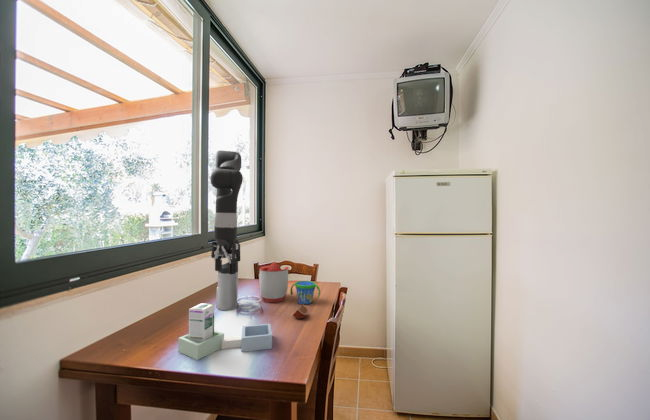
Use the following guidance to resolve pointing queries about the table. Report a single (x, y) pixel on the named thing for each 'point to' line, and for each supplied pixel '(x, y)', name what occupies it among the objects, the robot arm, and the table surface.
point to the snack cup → (305, 291)
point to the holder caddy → (228, 341)
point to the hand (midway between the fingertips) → (225, 272)
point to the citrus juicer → (273, 283)
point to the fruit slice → (301, 312)
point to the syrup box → (201, 322)
